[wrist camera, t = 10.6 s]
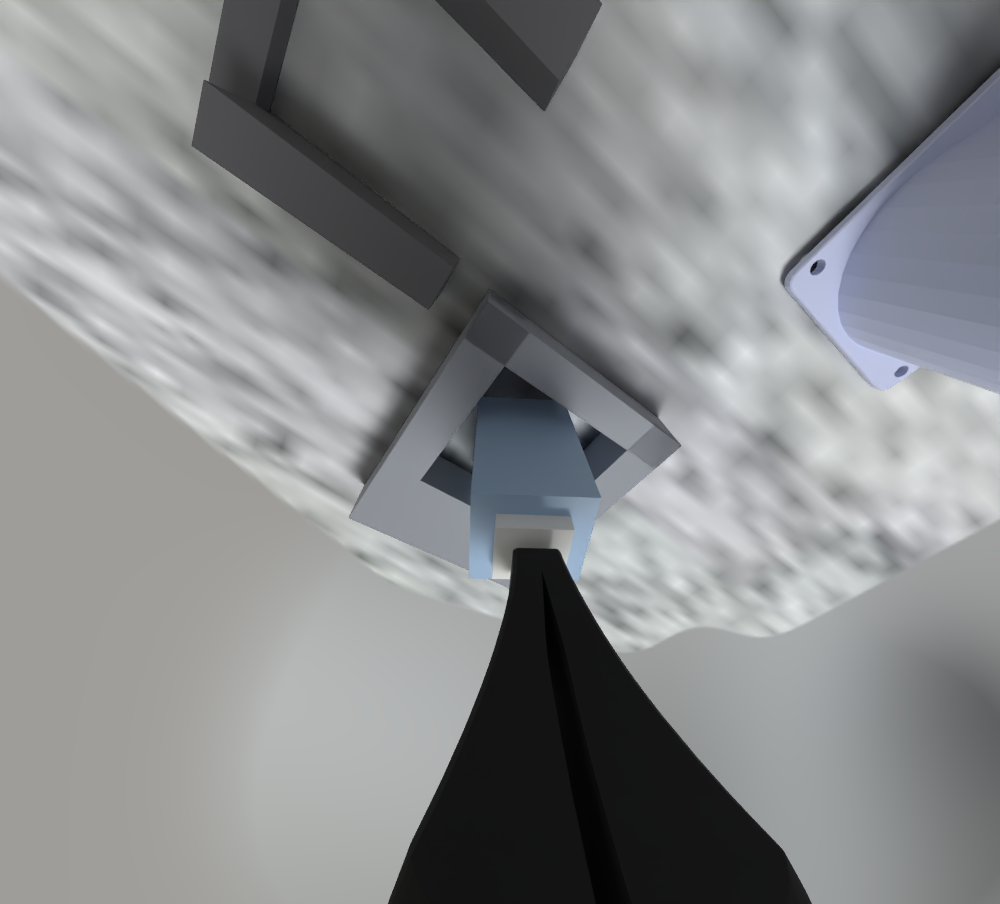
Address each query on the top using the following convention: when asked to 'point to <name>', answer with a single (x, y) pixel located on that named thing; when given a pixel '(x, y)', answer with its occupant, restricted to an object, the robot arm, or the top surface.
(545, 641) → the robot arm
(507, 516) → the plug
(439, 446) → the frame
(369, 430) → the top surface
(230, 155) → the holster
